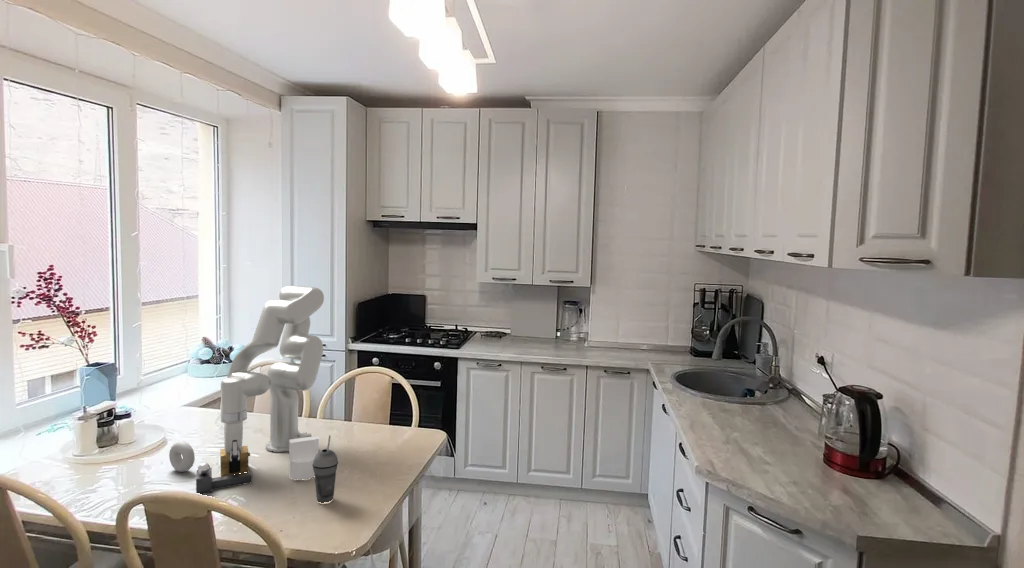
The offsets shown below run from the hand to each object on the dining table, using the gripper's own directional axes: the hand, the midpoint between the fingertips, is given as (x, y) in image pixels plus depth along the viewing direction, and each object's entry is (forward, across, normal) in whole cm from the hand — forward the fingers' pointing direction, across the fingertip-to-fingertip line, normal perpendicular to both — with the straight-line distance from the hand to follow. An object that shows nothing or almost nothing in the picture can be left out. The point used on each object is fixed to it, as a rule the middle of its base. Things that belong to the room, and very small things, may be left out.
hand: (234, 467), depth 175 cm
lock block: (+1, 0, 0) cm, 1 cm away
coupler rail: (+1, +10, -3) cm, 10 cm away
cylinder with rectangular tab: (+1, +12, +20) cm, 23 cm away
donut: (+1, -7, -15) cm, 17 cm away
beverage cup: (+1, +33, +23) cm, 40 cm away
